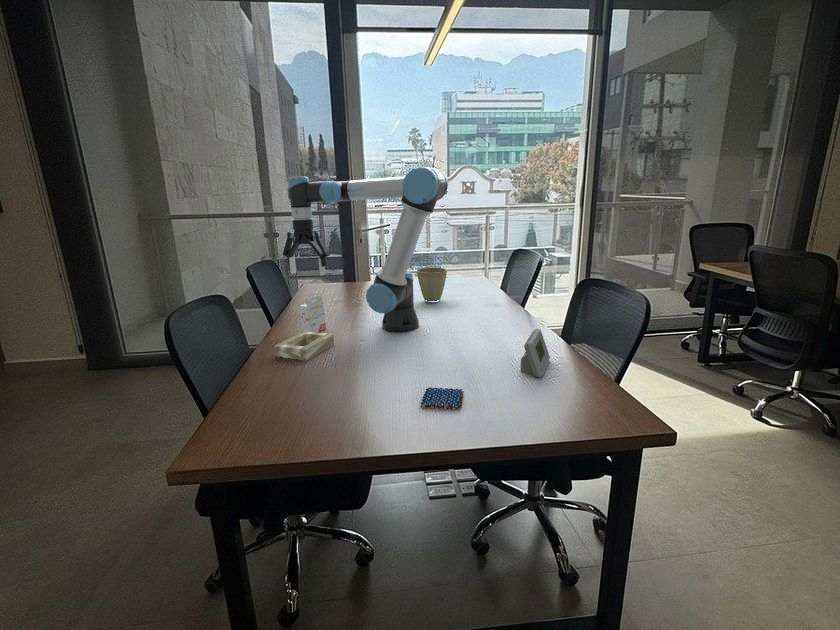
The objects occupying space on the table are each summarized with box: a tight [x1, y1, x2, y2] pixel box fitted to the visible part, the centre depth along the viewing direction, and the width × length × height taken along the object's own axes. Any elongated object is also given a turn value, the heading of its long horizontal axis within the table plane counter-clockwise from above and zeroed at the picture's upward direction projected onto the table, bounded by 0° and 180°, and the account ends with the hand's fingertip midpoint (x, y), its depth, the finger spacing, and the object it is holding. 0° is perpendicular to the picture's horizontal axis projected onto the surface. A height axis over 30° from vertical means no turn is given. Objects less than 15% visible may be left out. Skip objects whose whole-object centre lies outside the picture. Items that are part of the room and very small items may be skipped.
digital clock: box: [520, 328, 551, 378], centre depth 132 cm, size 16×9×11 cm, turn 144°
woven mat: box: [420, 386, 465, 411], centre depth 115 cm, size 10×11×2 cm
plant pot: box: [416, 267, 448, 301], centre depth 216 cm, size 15×15×16 cm
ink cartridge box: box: [298, 294, 327, 333], centre depth 175 cm, size 9×5×15 cm, turn 143°
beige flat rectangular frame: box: [274, 330, 335, 362], centre depth 155 cm, size 13×17×4 cm
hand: (308, 274), depth 170 cm, fingers open, 13 cm apart
